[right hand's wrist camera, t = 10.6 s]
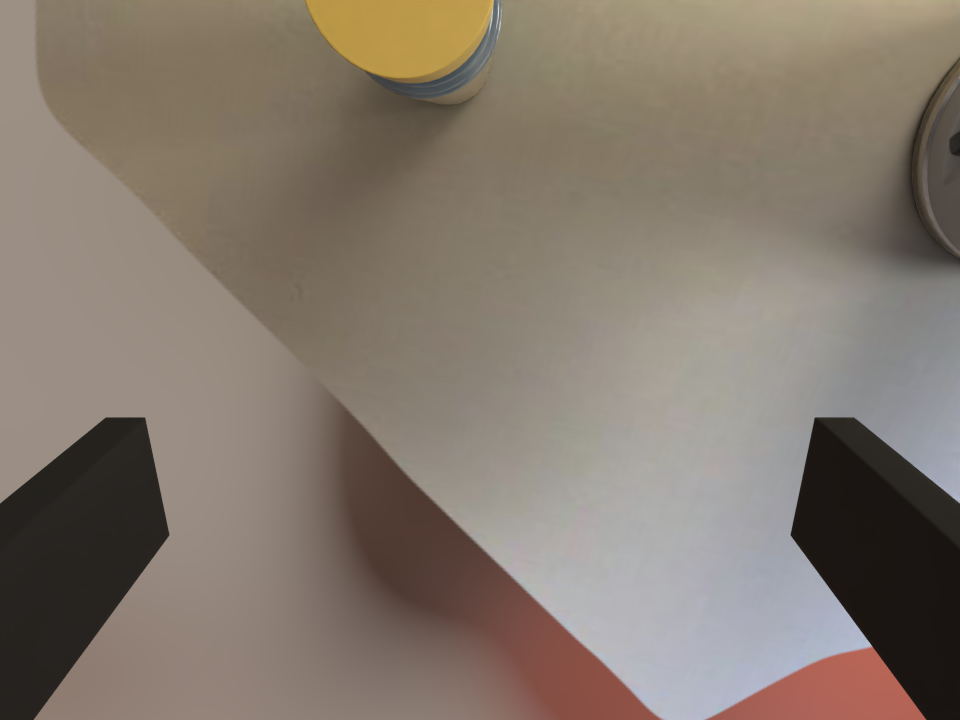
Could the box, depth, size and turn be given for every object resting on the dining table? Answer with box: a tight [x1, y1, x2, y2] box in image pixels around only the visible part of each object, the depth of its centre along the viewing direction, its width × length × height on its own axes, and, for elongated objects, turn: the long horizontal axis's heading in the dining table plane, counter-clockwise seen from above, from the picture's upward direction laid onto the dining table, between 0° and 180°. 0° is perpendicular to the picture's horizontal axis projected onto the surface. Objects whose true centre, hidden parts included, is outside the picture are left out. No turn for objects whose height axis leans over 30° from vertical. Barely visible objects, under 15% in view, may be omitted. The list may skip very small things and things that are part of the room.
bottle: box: [364, 0, 502, 105], centre depth 26 cm, size 5×5×24 cm
